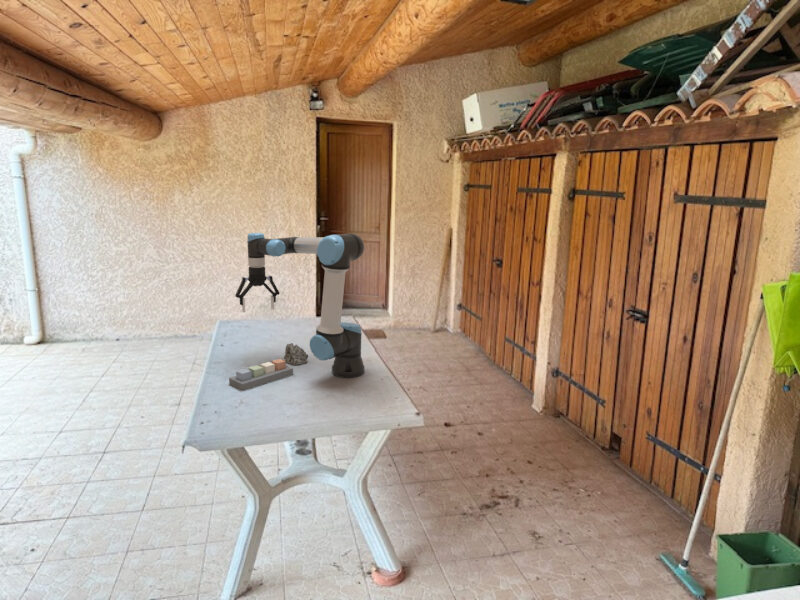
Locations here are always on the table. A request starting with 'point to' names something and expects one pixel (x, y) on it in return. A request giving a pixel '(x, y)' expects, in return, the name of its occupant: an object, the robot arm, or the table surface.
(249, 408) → the table surface
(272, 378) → the grey socket tray
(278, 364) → the key terracotta
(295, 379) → the table surface
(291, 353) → the rock
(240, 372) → the key slate
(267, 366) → the key cream
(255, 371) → the key sage
